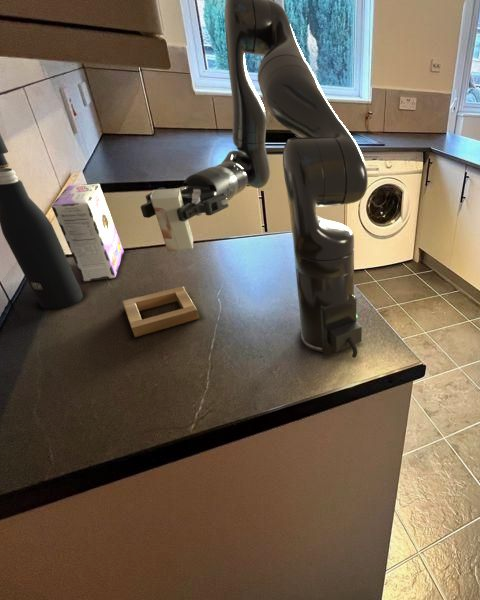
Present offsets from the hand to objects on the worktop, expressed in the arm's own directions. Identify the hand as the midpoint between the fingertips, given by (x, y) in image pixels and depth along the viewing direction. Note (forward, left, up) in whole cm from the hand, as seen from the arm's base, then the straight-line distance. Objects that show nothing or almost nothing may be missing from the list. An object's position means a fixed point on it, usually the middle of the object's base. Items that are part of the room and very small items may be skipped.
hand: (162, 214), depth 66 cm
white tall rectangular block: (+2, -2, -7) cm, 8 cm away
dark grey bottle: (+12, +19, -18) cm, 28 cm away
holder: (-3, +5, -18) cm, 18 cm away
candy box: (+24, +11, -18) cm, 32 cm away
